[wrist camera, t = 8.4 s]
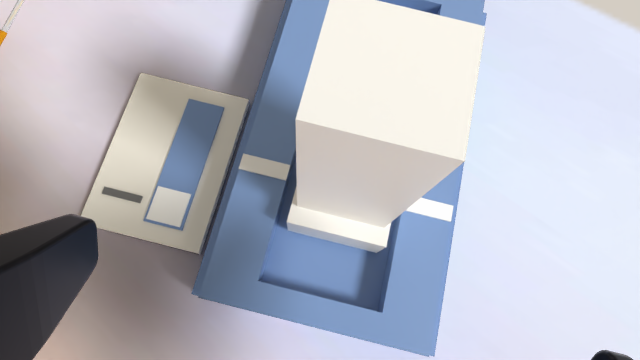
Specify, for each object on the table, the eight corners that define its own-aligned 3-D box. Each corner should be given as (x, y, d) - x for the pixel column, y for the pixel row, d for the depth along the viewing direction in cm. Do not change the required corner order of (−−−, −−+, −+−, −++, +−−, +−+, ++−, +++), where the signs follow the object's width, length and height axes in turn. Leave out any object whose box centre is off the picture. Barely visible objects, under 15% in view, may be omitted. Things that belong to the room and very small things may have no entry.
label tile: (200, 254, 17) (197, 252, 16) (82, 224, 17) (75, 221, 16) (249, 103, 19) (248, 97, 18) (144, 77, 19) (139, 70, 18)
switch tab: (376, 253, 15) (471, 196, 7) (288, 230, 15) (275, 148, 7) (396, 154, 16) (499, 3, 8) (313, 134, 17) (329, -38, 8)
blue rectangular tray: (422, 351, 16) (444, 360, 14) (200, 294, 16) (183, 293, 14) (473, 33, 20) (497, -4, 18) (296, -9, 21) (296, -52, 18)
